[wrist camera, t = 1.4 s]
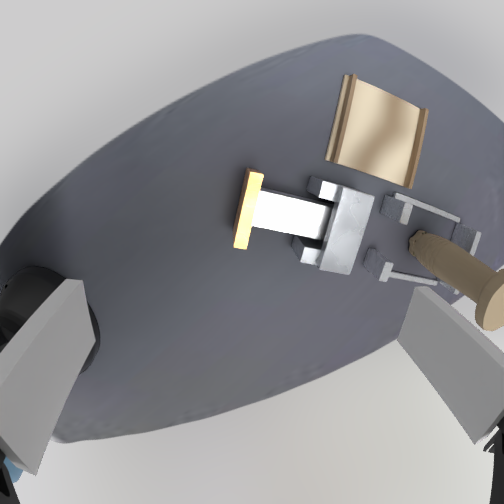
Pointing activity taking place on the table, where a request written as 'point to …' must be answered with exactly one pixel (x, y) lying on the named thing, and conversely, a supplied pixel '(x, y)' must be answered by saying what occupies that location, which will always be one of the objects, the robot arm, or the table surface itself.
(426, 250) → the handle
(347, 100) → the tan base plate
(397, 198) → the silver rectangular frame
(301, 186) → the table surface
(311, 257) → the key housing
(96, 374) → the table surface
